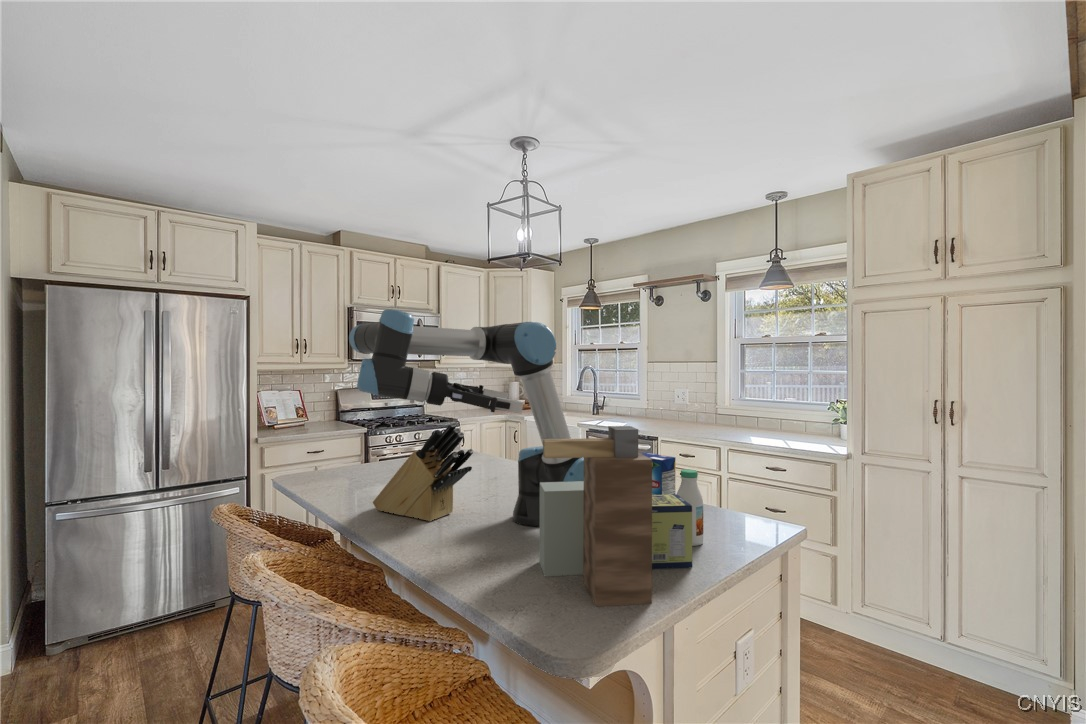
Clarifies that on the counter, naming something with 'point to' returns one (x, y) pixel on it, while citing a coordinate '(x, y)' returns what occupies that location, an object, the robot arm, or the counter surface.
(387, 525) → the counter surface
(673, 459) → the beverage box
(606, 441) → the mallet
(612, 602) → the stand
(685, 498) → the milk bottle
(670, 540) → the protein box
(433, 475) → the knife block
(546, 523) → the grey-green rectangular block
